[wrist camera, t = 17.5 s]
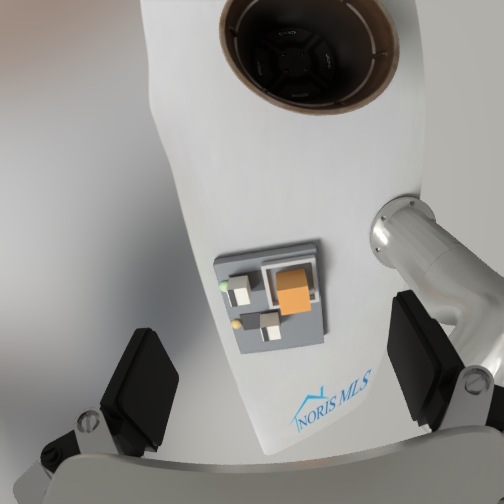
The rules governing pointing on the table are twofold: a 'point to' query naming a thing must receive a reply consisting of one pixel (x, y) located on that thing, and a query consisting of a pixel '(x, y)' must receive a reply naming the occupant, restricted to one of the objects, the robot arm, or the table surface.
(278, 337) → the cube with dark stripe
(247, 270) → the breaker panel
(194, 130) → the table surface
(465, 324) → the robot arm
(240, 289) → the toggle
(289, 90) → the plant pot
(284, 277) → the cap
